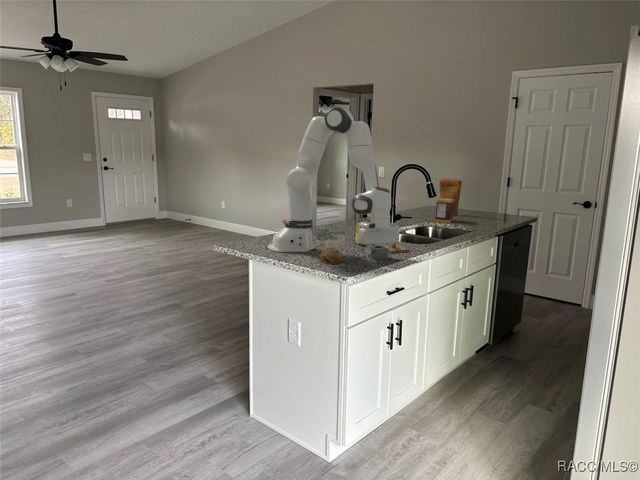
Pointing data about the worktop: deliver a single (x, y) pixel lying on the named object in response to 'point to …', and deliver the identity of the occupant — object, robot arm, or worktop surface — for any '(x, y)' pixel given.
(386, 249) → the grey hollow block
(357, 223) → the supplement box
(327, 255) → the bread roll
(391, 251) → the tan flat piece
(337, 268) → the worktop surface
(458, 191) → the pancake mix bag
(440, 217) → the supplement box
